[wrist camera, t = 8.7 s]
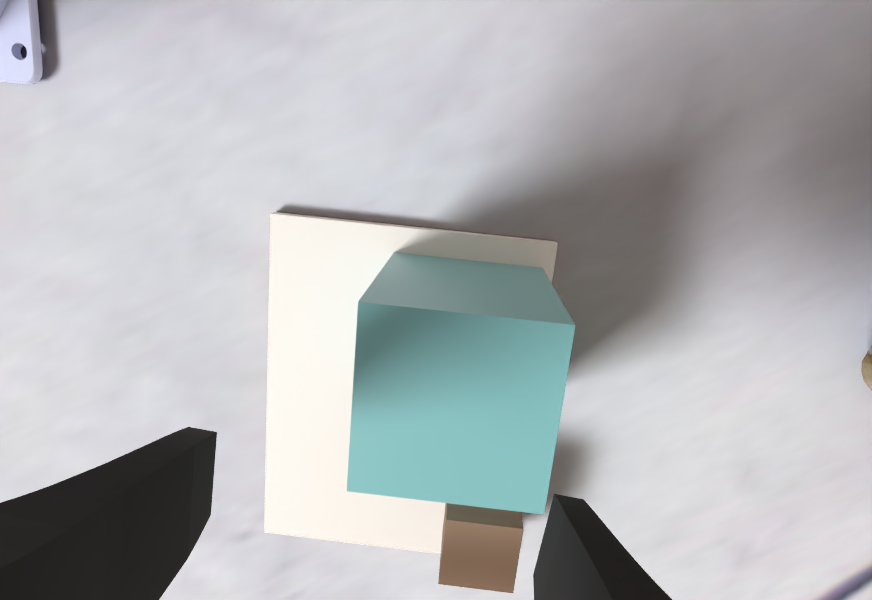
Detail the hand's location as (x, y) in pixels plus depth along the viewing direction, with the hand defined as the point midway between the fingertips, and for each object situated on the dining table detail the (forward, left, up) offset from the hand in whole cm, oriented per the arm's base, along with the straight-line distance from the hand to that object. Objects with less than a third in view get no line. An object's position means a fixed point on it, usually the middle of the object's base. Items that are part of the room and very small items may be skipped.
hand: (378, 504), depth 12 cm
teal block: (-1, +1, -9) cm, 9 cm away
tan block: (+6, +3, -9) cm, 12 cm away
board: (+2, -1, -10) cm, 10 cm away
